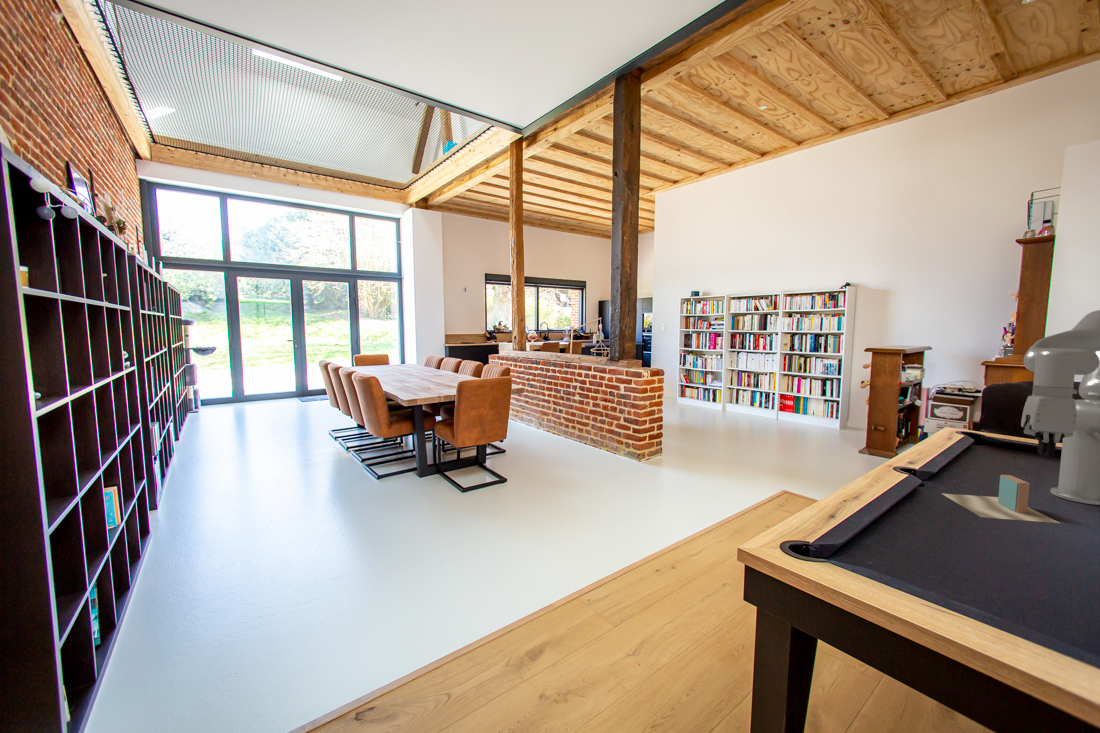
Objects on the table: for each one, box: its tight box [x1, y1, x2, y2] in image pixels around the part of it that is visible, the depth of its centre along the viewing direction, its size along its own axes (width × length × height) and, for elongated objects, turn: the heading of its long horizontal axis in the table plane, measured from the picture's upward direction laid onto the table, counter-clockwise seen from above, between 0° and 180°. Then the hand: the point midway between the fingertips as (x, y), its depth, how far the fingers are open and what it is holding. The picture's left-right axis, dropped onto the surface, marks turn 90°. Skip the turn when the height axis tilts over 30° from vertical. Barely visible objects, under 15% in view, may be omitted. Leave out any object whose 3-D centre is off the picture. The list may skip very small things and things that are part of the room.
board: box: [941, 493, 1061, 524], centre depth 129 cm, size 18×18×1 cm
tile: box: [997, 474, 1031, 513], centre depth 128 cm, size 3×7×9 cm, turn 166°
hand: (1045, 455), depth 125 cm, fingers closed
